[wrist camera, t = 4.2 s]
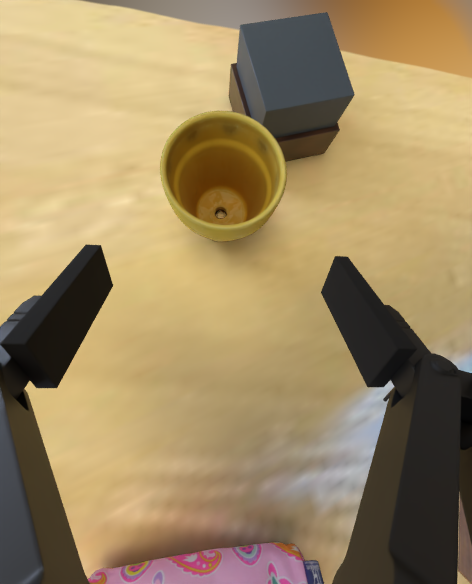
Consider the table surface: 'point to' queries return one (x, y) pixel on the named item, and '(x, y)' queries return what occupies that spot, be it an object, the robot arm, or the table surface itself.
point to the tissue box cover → (464, 547)
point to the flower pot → (223, 174)
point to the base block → (290, 144)
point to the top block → (293, 74)
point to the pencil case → (220, 568)
